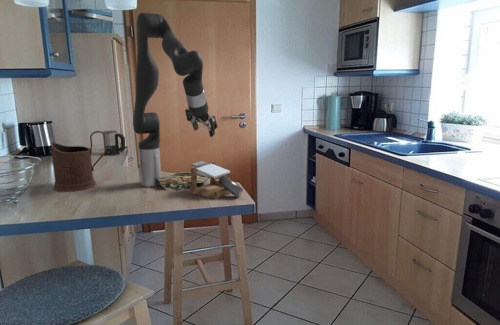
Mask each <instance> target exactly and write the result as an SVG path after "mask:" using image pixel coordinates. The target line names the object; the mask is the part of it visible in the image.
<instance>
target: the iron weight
mask: <svg viewBox="0 0 500 325" xmlns="http://www.w3.org/2000/svg"><path fill="white" fill-rule="evenodd" d="M218 180H219V181H218V184H220V185H221V186H222V187H224V188H225V189H226V190H228V191H229V192H230V194H232V195H233V196H234V197H236V198H239V197H240V196H241V195H242V193H243V191H244V188H242V187H241V186H240V185H238V184H237V183H236V182H234V180H232V179H231V178H229V177H227V175H226V174H225V175H222V176H220V178H219V179H218Z"/></svg>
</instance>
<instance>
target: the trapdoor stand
mask: <svg viewBox="0 0 500 325" xmlns="http://www.w3.org/2000/svg"><path fill="white" fill-rule="evenodd" d="M210 163H212V164H214V165H216V166H217V163H216V161H214V160H212V161H210ZM210 163H209V164H210ZM190 172H191V185H190V186H189V193H190V194H194V195H198V196H203V197H206V198H210V199H214V200H217V199H220V198H222V197H225V196H227V195H230V194H231V193H230V192H229V191H228V190H226V189H225V188H224V187H222V186H221V185H220V184H218V181H219V180H220V179H217V177H216V178H213V177H211V176H210V178H209V183H208V184H205V185H202V186H199V187H198V183H197V173H198V172H197V171H196V167H191V166H190ZM196 172H197V173H196Z"/></svg>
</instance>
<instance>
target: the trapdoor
mask: <svg viewBox="0 0 500 325" xmlns="http://www.w3.org/2000/svg"><path fill="white" fill-rule="evenodd" d="M191 167H196V172H198V173H202V174H205V175H206V176H208V177H210V178H211V177H213V178H216V179H217V178H219V177H222V176H223V175H225V176H226V175H227V174H230V173H231V170H229V169H227V168H224V167H221V166H219V165H217V164H216V165H214V164H212V163H208V162H207V161H204V160H200V161H197V162H193V163H191V164H190V168H191Z"/></svg>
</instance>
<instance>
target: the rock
mask: <svg viewBox="0 0 500 325" xmlns="http://www.w3.org/2000/svg"><path fill="white" fill-rule="evenodd" d="M196 173H197V184H201V183H206V182H207V181H208V180H210V179H211V176H208V175H206V174H204V173H201V172H198V171H196ZM158 180H159V182H160V185H161V186H162V188H164V189H165V190H167V191H178V190H182V189H183V190H184V189H187V188H189V187H190V186H191V171H189V172H185V171H184V172H183V171H182V172H181V171H180V172H179V171H177V172H176V173H173V174H168V175H165V176H161V177H160V178H158ZM170 189H171V190H170Z"/></svg>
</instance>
